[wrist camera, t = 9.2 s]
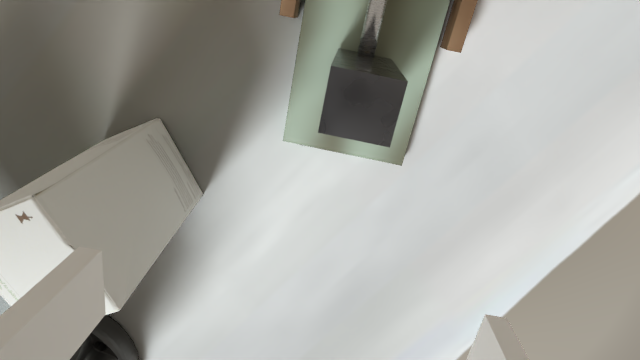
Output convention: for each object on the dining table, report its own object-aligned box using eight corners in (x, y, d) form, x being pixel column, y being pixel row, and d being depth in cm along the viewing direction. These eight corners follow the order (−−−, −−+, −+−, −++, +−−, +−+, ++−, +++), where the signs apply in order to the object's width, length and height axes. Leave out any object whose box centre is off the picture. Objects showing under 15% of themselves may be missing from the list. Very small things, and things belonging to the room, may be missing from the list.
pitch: (267, 133, 34) (260, 143, 31) (312, -181, 26) (307, -203, 23) (417, 164, 34) (422, 177, 31) (511, -139, 26) (530, -157, 23)
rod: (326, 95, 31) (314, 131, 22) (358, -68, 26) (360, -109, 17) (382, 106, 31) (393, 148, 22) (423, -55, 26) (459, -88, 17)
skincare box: (102, 139, 36) (-68, 226, 21) (165, 113, 34) (28, 189, 20) (150, 217, 38) (29, 341, 24) (210, 197, 37) (119, 315, 23)
